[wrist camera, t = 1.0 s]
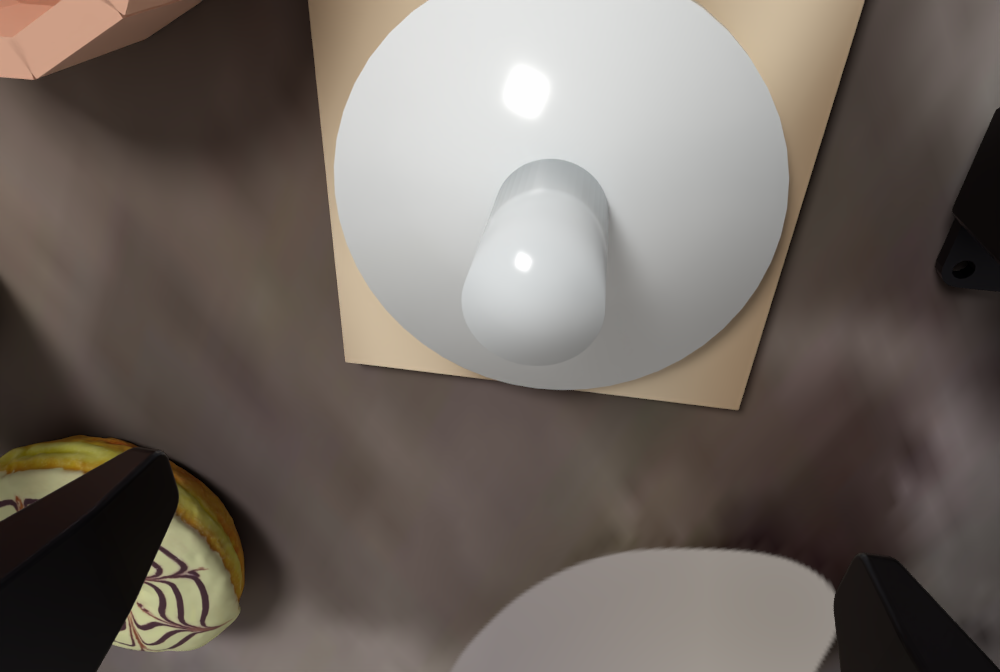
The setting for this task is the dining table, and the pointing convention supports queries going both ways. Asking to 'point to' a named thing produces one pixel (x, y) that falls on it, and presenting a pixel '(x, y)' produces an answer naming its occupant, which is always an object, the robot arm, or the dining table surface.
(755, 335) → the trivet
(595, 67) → the lid
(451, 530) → the dining table surface
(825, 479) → the dining table surface
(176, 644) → the decorated donut
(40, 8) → the bowl
